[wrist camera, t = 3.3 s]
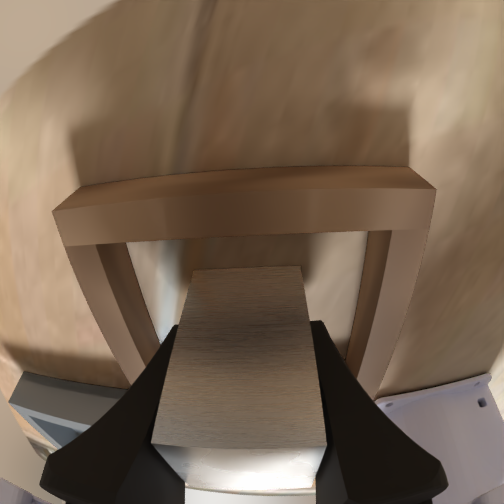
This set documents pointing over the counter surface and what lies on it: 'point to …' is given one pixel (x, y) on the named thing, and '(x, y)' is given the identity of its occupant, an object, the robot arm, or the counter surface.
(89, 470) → the robot arm
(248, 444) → the brushed metal top block
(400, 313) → the brown flat square frame
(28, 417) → the tray
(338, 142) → the counter surface
